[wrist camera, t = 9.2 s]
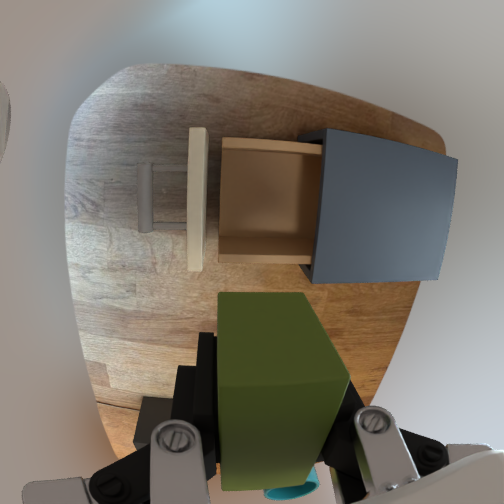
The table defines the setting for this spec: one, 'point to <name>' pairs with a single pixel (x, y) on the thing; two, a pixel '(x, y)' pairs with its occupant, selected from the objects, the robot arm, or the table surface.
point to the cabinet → (379, 210)
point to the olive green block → (273, 389)
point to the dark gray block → (151, 419)
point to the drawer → (245, 200)
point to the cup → (294, 489)
